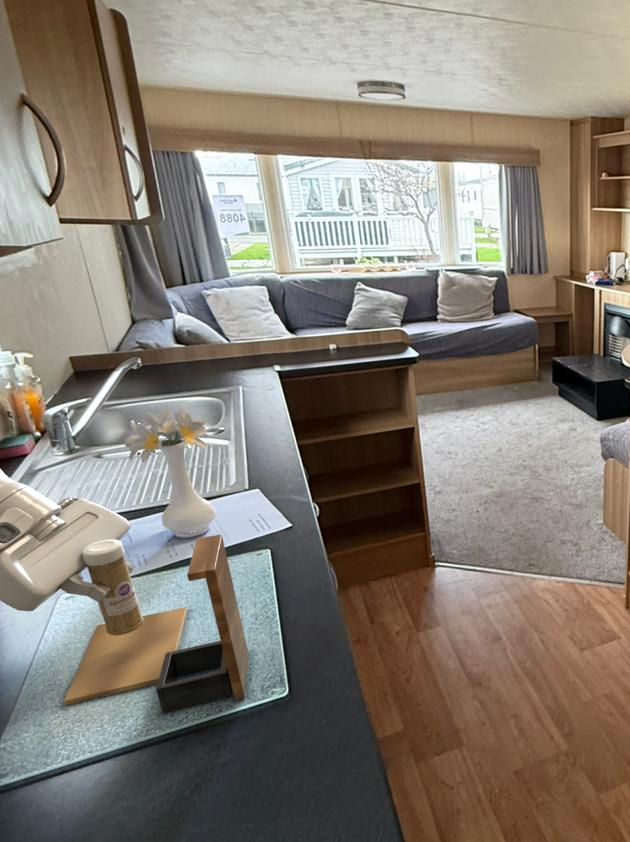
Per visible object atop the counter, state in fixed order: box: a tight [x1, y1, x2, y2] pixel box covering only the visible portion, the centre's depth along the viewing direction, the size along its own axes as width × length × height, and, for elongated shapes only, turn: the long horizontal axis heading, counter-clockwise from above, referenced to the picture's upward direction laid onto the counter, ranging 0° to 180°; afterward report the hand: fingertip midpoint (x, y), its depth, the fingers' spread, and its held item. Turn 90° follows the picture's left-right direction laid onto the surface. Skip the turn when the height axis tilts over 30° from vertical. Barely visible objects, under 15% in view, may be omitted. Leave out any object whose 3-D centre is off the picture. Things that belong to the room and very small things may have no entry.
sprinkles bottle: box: [82, 539, 144, 636], centre depth 92 cm, size 5×5×13 cm
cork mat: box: [63, 606, 188, 706], centre depth 96 cm, size 12×18×1 cm, turn 24°
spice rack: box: [155, 533, 249, 715], centre depth 86 cm, size 10×10×20 cm
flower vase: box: [124, 407, 217, 539], centre depth 127 cm, size 13×18×25 cm
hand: (117, 584), depth 92 cm, fingers closed on sprinkles bottle, 4 cm apart
